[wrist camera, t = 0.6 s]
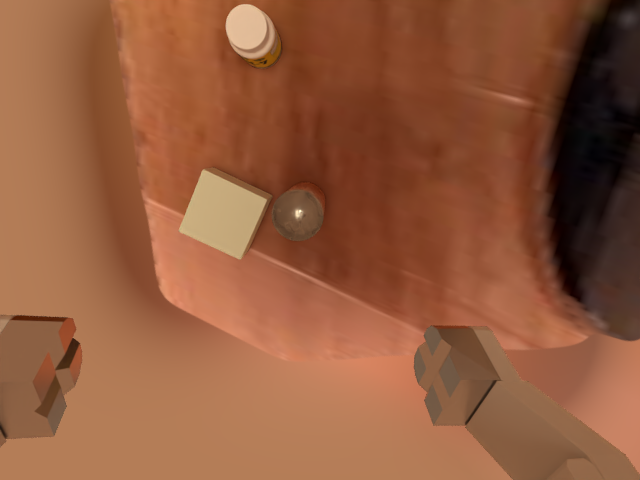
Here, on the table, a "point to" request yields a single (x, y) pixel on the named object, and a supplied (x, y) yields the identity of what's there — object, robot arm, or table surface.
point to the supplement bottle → (253, 36)
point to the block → (225, 212)
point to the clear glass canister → (299, 211)
